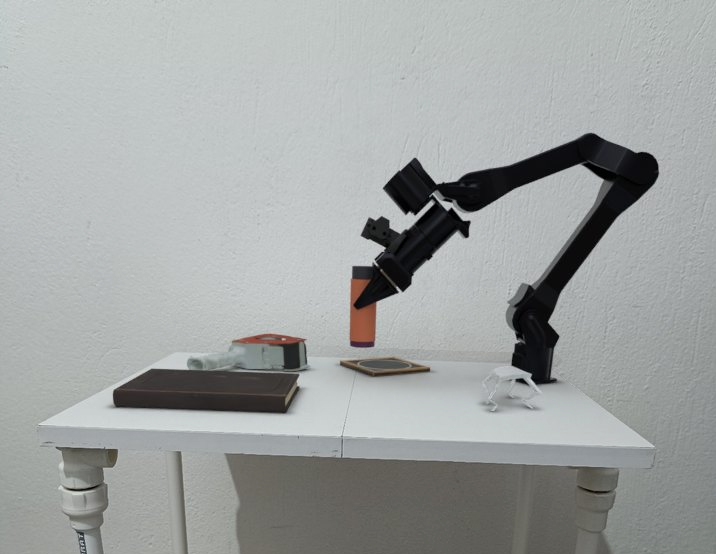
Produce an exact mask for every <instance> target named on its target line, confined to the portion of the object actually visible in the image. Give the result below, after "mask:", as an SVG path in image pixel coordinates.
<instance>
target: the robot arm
mask: <svg viewBox="0 0 716 554" xmlns="http://www.w3.org/2000/svg"><path fill="white" fill-rule="evenodd" d="M578 165H580V166H582V167H584V168H585V169H587V170H588V171H590V172H591V173H592V174H593V175H595V176H596V177H598V178H599V179H601V180H603V181H602V183H601V185H600V187H599V190H598V192H597V195H596V199H595V201H594V203H593V205H592V207H591V208H590V209H589V210H588V212H587V213H586V214H585V215H584V217H583V218H582V220H581V221H580V222H579V224H578V225H577V227H576V228H575V229H574V231H573V232H572V234H571V235H570V236H569V237H568V239H567V240H566V241H565V243H564V244H563V246H562V247H561V248H560V250H559V251H558V252H557V253H556V255H555V256H554V258H553V259H552V261H551V262H550V263H549V265H548V266H547V267H546V268H545V270H544V271H543V273H542V274H541V275H540V277H539V278H538V279H537V280H536V281H534V282H533V283H532V284H529V283H525V282H521V283H520V285H519V286H518V289H517V290H516V292H515V294H514V296H512V298H510V299H509V300H507V301H506V303H507V304H508V307H507V308H506V311H505V322H506V324H507V326H508V327H509V328H510V329H511V330H512V331H513V332H514V335H515V339H516V340H517V341H518V342H514V349H513V352H512V354H511V362H510V366H513V367H516V368H518V369H520V370H523V371H525V372H527V373H530V374H532V376H531V378H530V379H531V380H532V381H533V382H534V383H535V385H536V384H544V383H553V382H555V383H556V382H558V378H557V377H552V368H553V360H554V352H555V347H556V346H557V344H558V341H559V340H560V334H559V333H558V332H557V331H556V330H555V329H554V327H553V326H552V325H551V324H550V322H549V321H550V319H551V318H552V316H553V314H554V311H555V310H556V306H557V304H558V301H559V299H560V295H561V294H562V292H563V290H564V289H565V287H567V285H568V284H569V283H570V281H571V279H572V278H573V277H574V276H575V274H576V273H577V272H578V270H580V268H581V266H582V265H583V264H584V262H585V261H586V260H587V258H588V257H589V256H590V255H591V253H592V251H594V249H595V248H596V247H597V245H598V244H599V243H600V241H601V240H602V238H603V237H604V236H605V234H606V233H607V232H608V230H609V229H610V228H611V227H612V225H613V224H614V222H615V221H616V220H617V219H618V218H619V217H620V216H621V215H622V214H623V213H624V212H625V211H627V210H628V209H629V208H631V207H632V206H633V205H634V204H636V203H637V202H638V201H639V200H640V199H641V198H642V197H643V196H644V195H645V194H646V193H647V192H648V191H649V190H650V189H651V188H652V187H653V186H654V185H655V184H656V182H657V181H658V178H659V176H660V169H659V166H660V165H659V163H658V160H657V159H656V157H655V156H654V154H651V153H650V152H648V151H638V152H636V151H634V150H631V149H630V148H628V147H626V146H623V145H621V144H618V143H616V142H612V141H610V140H606V139H605V138H603V137H601V136H600V135H598V134H596V133H594V132H588V133H587V132H586V133H584V134H582V135H580V136H578V137H576V138H575V139H573V140H571V141H568V142H565V143H563V144H561V145H558V146H554V147H553V148H550V149H547V150H545V151H542V152H539V153H537V154H535V155H532V156H530V157H527V158H525V159H522V160H519V161H517V162H515V163H512V164H508V165H503V166H499V167H490V168H485V169H481V170H475V171H470V172H467V173H465V174H463V175H461V176H460V177H459V178H458V179H457V180H455V181H450V182H445V181H442V182H440V183H436V182H435V180H434V179H433V178H432V177H431V176H430V174H428V172H427V171H426V170H425V168H424V167H423V165H422V163H421V161H420V160H419V159H418V158H417V157H413V158H412V159H411V160H410V161H409V162H408V163H406V165H405V166H404V167H403V168H402V169H399V170H398V171H396V173H395V174H394V175H393V176H392V177H390V179H389V180H388V181H387V182H386V184H384V186H383V187H382V190H383V192H384V193H385V194H386V195H387V196H388V197H389V198H390V199H391V201H392V202H394V205H396V206H397V208H398V209H399V210H400V211H401V212H402V213H403V215H405V216H407V215H408V214H409V213H410V214H411V215H413V216H414V217H416V216H417V215H418V214H419V213H420V212H421V211H422V210H424V208H425V207H426V206H427V205H429V203H432V205H431V206H430V207H429V208H428V209H427V210H426V211H425V212H424V213H423V214H422V215H421V216H420V217H419V218H418V219H417V220H416V221H414V223H413V224H412V225H411V226H410V227H409V228H406V229H403V230H402V232H401V233H399V232H398V231H396V230H394V229H393V228H391V227H390V219H388V218H386V217H385V216H383V215H381V216H379V217H378V218H377V219H376V220H375V219H374V218H372V217H370V216H369V217H367V219H366V223H365V224H364V226H363V229H362V231H361V233H360V235H359V236H360V237H361V238H363V239H366V240H367V241H369V240H370V241H372V242H374V243H376V244H377V245H379V246H381V247H383V248H384V249H383V251H380V252H379V253H378V255H376V256H375V257H374V258H373V261H372V263H371V266H373V272H372V279H371V280H370V282H369V283H368V284H367V286H366V287H365V289H364V290H363V291H362V293H361V294H360V296H359V297H358V298H357V300H356V301H355V303H354V304H353V306H354V307H355V308H356V309H357V310H358V309H361V308H363V307H366V306H368V305H370V304H373V303H375V302H377V303H378V302H380V301H383V300H385V299H387V298H390V297H393V296H394V295H398V294H399V293H400V291H401V293H404V292H405V291H406V290H407V289H408V288H409V287H410V286H412V283H413V277H414V276H415V274H416V272H417V271H418V270H420V268H421V267H422V266H423V265H424V264H426V263H427V262H429V261H430V260H431V259H432V258H433V257H434V256H433V255H435V254H436V253H437V252H438V251H439V250H440V249H441V248H442V247H443V246H444V245H445V244H446V243H447V242H448V241H449V240H450V239H451V238H452V237H453V236H454V235H455V234H457V233H458V235H459V236H460V237H461V238H462V239H465V240H466V239H468V238H470V226H471V224H472V221H471V220H470V219H469V220H464V219H462V217H461V216H460V214H459V213H457V211H458V212H460V213H463V214H473V213H476V212H479V211H481V210H483V209H485V208H486V207H488V206H489V205H491V204H493V203H494V202H496V201H498V200H499V199H501V198H502V197H504V196H506V195H507V194H509V193H511V192H512V191H513V190H516V189H518V188H520V187H523V186H526V185H528V184H532V183H534V182H536V181H539V180H542V179H544V178H547V177H549V176H552V175H555V174H557V173H560V172H563V171H565V170H567V169H570V168H574V167H575V166H578ZM435 196H436V197H435ZM440 201H442V202H446V203H450V204H452V205H453V207H454V208H455V209H456V210H457V211H456V210H455V209H454V208H453V207H452V206H451V207H449V209H447V208H445V206H443V205H442V203H441V202H440ZM374 261H375V262H374ZM398 289H399V290H398ZM515 380H516V381H517V382H521V383H524V384H528V383H527V382H526V381H525V380H524V379H523V378H518V379H515Z"/></svg>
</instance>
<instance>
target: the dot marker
mask: <svg viewBox="0 0 716 554" xmlns="http://www.w3.org/2000/svg"><path fill="white" fill-rule="evenodd" d="M372 272H373V266H372V265H352V267H351V278H350V293H349V294H350V295H349V297H350V299H349V302H350V303H349V347H352V348H358V349H359V348H360V349H369V348H375V345H376V344H375V342H376V331H377V330H376V329H377V304H378V302H375V303H373V304H370V305H368V306H366V307H363V308H361V309H358V310H357V309H356V308H355V307H354V306H353V304H354V303H355V301H356V300H357V298H358V297H359V296H360V294H361V293H362V291H363V290H364V289H365V287H366V286H367V284H368V283H369V282H370V280H371V279H372Z"/></svg>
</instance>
